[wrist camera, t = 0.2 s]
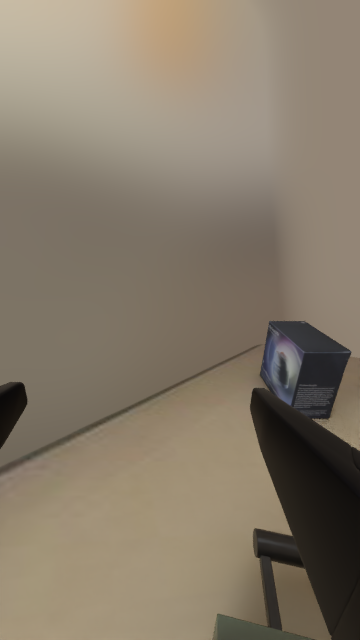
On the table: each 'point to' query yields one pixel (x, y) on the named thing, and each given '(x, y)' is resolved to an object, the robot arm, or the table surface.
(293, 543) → the drawer
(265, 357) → the small box
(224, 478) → the table surface
